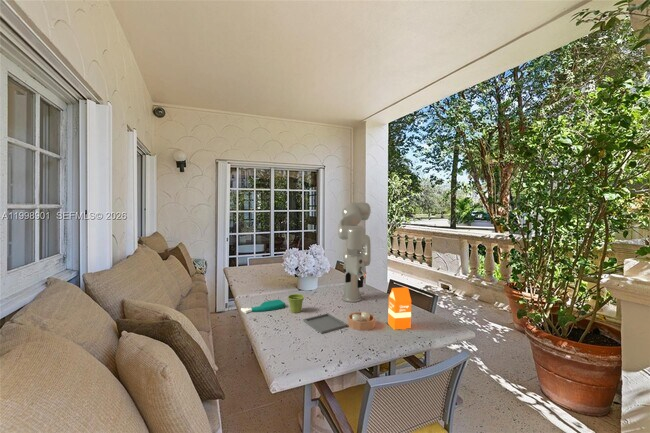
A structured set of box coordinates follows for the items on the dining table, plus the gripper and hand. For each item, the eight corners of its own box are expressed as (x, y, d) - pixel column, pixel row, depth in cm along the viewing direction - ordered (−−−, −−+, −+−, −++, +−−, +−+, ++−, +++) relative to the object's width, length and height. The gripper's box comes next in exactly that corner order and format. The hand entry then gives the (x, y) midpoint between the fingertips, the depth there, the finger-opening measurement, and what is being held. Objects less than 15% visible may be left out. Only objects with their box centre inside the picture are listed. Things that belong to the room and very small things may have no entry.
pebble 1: (356, 322, 150) (357, 313, 150) (362, 325, 147) (362, 316, 146) (350, 324, 148) (350, 315, 148) (355, 327, 144) (356, 317, 144)
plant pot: (301, 315, 162) (301, 299, 161) (285, 313, 164) (285, 298, 163) (305, 309, 171) (306, 294, 170) (290, 308, 173) (290, 293, 172)
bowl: (362, 318, 158) (362, 310, 158) (380, 327, 147) (380, 318, 147) (342, 323, 151) (342, 315, 150) (359, 333, 139) (359, 324, 139)
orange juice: (387, 323, 151) (388, 285, 150) (403, 322, 153) (404, 285, 152) (394, 330, 144) (395, 290, 143) (410, 328, 146) (411, 289, 145)
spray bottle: (286, 308, 173) (244, 316, 160) (279, 303, 182) (239, 310, 170) (286, 303, 172) (244, 311, 160) (279, 298, 182) (239, 305, 170)
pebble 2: (365, 320, 153) (365, 311, 153) (371, 323, 150) (371, 313, 150) (359, 322, 151) (359, 312, 151) (365, 325, 147) (365, 315, 147)
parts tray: (327, 315, 161) (327, 313, 161) (347, 327, 146) (347, 324, 146) (303, 322, 152) (303, 319, 152) (321, 334, 138) (321, 331, 138)
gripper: (371, 254, 144) (370, 288, 145) (349, 248, 158) (349, 279, 159) (360, 256, 139) (359, 290, 141) (338, 249, 154) (338, 281, 155)
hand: (354, 284), depth 150 cm, fingers open, 9 cm apart
